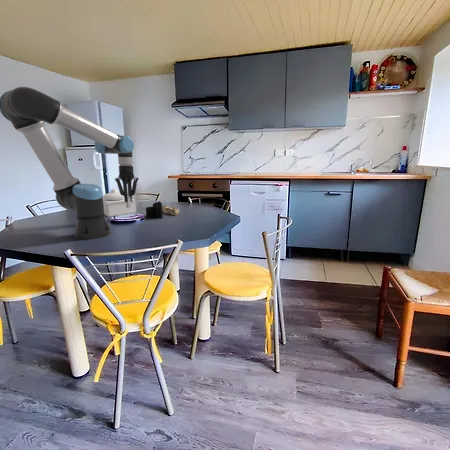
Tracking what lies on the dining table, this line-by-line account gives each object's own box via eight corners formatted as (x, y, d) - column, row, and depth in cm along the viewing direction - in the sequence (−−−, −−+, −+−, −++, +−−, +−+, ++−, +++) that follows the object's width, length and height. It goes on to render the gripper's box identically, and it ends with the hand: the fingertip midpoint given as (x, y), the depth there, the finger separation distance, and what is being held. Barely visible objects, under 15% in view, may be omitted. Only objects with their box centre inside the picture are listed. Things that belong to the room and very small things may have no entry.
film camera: (146, 214, 175) (145, 200, 173) (162, 213, 178) (161, 199, 175) (146, 220, 161) (145, 204, 159) (163, 218, 163) (162, 203, 161)
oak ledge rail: (179, 215, 173) (178, 207, 171) (175, 215, 171) (175, 208, 170) (164, 211, 186) (163, 204, 185) (161, 211, 184) (160, 204, 183)
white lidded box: (125, 209, 195) (123, 186, 191) (136, 213, 182) (134, 188, 178) (99, 212, 184) (96, 188, 180) (108, 217, 171) (105, 190, 167)
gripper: (134, 165, 162) (136, 205, 167) (111, 165, 153) (114, 208, 158) (140, 165, 156) (142, 207, 161) (116, 165, 148) (119, 209, 153)
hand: (128, 207), depth 160 cm, fingers closed
